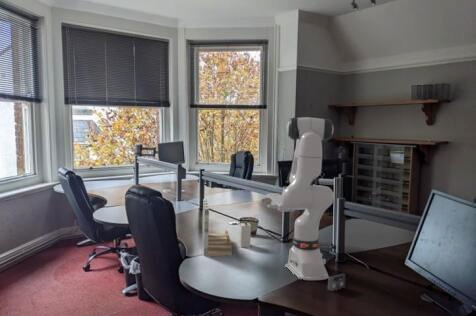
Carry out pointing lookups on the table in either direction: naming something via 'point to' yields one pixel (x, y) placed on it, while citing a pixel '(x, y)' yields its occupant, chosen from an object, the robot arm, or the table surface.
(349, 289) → the table surface
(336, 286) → the mini dv tape
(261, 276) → the table surface
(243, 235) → the cabinet block
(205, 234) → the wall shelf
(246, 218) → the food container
